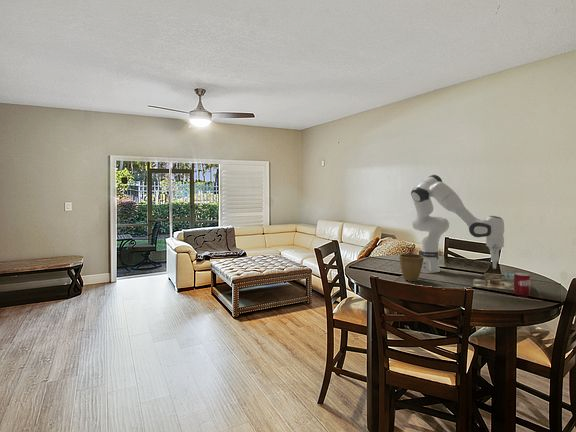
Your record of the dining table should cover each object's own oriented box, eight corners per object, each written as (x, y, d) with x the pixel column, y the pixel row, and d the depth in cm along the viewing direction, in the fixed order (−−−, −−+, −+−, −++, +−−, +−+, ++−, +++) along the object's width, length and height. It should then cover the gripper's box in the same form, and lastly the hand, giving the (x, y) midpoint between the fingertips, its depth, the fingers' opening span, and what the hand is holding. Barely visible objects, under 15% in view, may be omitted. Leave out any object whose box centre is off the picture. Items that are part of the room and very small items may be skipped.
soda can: (510, 294, 184) (510, 272, 184) (522, 293, 185) (523, 272, 184) (520, 298, 177) (521, 275, 176) (533, 297, 178) (534, 275, 177)
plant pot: (406, 283, 208) (406, 258, 207) (394, 277, 223) (395, 254, 222) (428, 282, 210) (428, 257, 209) (415, 276, 225) (416, 253, 224)
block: (490, 284, 199) (490, 277, 199) (489, 283, 203) (490, 275, 202) (499, 285, 197) (499, 278, 196) (498, 283, 201) (498, 276, 200)
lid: (505, 279, 191) (506, 275, 191) (504, 274, 203) (504, 270, 203) (523, 281, 187) (523, 276, 187) (520, 276, 199) (520, 271, 199)
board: (473, 287, 198) (473, 277, 197) (473, 280, 213) (473, 271, 212) (522, 293, 186) (522, 282, 186) (519, 285, 201) (519, 275, 200)
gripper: (501, 246, 187) (501, 270, 188) (500, 241, 205) (500, 264, 206) (488, 245, 190) (488, 269, 191) (488, 241, 208) (488, 263, 209)
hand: (494, 266), depth 199 cm, fingers open, 8 cm apart
